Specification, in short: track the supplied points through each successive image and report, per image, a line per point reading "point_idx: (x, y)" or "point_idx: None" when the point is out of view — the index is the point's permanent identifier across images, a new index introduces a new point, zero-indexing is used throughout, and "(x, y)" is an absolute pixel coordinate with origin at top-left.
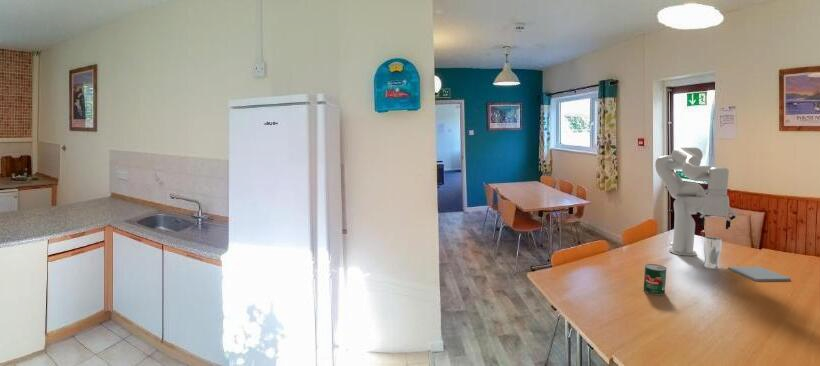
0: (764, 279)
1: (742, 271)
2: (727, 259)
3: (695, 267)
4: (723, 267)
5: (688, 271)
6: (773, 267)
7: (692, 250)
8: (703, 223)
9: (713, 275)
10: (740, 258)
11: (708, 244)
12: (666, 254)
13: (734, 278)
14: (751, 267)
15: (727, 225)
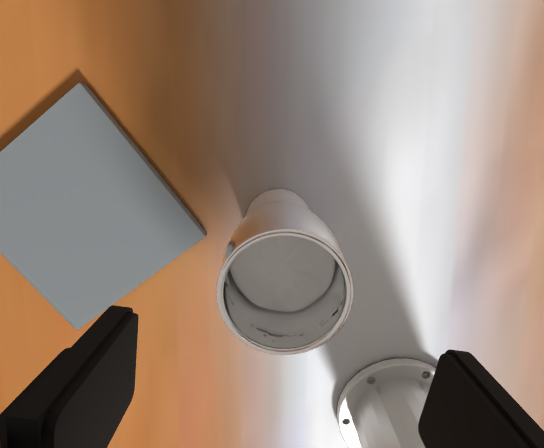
0: (45, 115)
1: (140, 194)
2: (210, 401)
3: (348, 174)
4: None
5: (386, 68)
6: (37, 375)
7: (360, 414)
8: (463, 393)
9: (268, 67)
10: (161, 444)
11: (315, 221)
12: (471, 341)
13: (174, 73)
14: (108, 295)
15: (82, 339)
